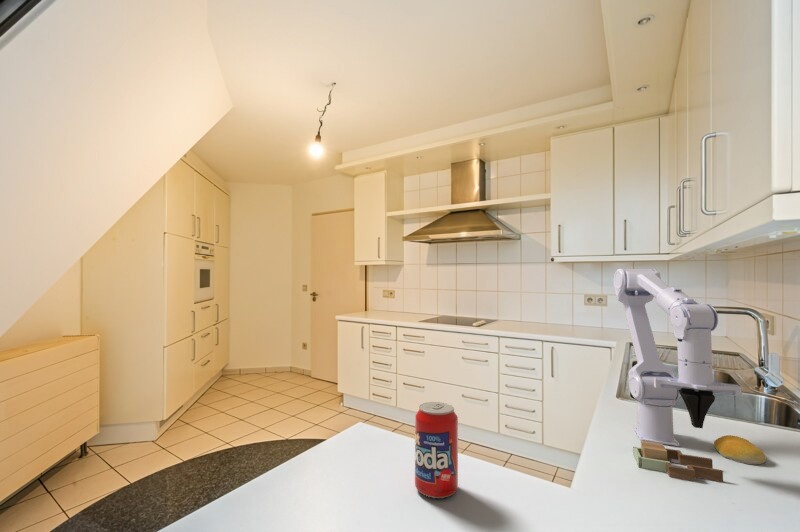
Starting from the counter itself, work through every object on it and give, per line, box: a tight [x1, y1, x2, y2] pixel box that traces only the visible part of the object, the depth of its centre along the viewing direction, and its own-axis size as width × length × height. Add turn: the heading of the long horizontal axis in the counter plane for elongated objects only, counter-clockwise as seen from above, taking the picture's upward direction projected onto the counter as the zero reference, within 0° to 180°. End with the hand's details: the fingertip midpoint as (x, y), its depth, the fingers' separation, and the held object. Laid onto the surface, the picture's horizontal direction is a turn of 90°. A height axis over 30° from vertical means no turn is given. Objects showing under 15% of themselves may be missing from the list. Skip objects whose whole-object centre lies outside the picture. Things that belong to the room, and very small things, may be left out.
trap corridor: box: [632, 446, 724, 483], centre depth 78 cm, size 10×14×2 cm
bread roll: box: [713, 434, 767, 466], centre depth 84 cm, size 8×9×4 cm
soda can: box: [414, 401, 459, 499], centre depth 68 cm, size 8×8×15 cm
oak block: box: [640, 440, 667, 461], centre depth 79 cm, size 4×4×4 cm
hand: (696, 426), depth 78 cm, fingers closed
